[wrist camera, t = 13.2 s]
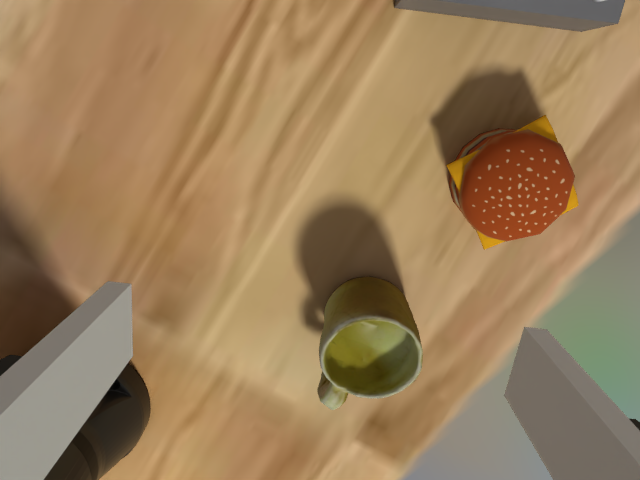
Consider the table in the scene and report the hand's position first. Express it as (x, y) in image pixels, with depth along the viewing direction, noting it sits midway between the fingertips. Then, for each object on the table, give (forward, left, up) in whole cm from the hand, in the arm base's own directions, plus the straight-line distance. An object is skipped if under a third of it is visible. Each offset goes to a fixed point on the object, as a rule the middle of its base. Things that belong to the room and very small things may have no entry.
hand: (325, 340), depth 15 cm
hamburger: (+16, +2, -29) cm, 33 cm away
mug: (+5, -15, -29) cm, 33 cm away
